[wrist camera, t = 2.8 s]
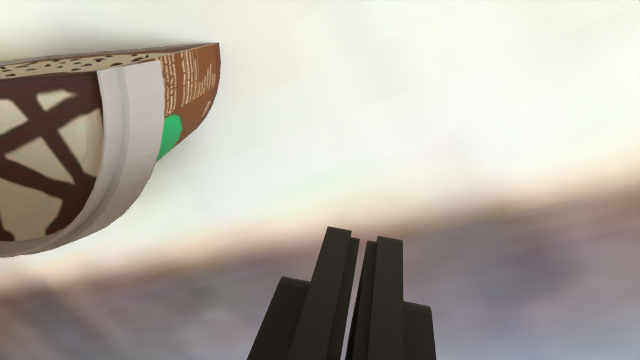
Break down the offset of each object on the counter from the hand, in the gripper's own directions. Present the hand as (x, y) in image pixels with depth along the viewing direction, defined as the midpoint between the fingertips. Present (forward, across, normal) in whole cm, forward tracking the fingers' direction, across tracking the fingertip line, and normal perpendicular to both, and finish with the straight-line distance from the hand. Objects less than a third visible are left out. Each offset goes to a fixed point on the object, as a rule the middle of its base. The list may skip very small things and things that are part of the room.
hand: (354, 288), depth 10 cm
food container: (+12, +12, +1) cm, 17 cm away
